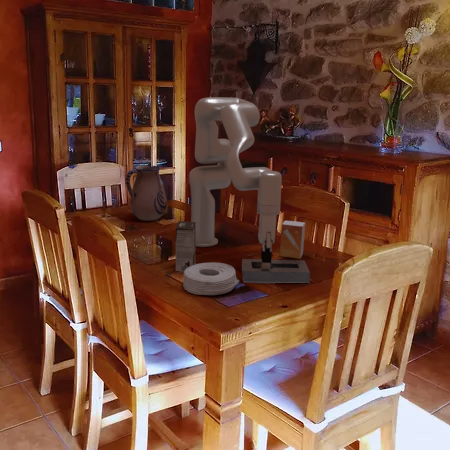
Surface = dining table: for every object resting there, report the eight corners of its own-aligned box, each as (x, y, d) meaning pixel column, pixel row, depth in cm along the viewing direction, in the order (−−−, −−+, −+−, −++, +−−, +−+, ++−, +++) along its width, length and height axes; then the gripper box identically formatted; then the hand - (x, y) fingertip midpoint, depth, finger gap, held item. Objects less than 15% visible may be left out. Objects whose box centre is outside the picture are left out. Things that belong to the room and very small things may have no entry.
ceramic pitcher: (174, 218, 255) (174, 166, 249) (145, 227, 238) (144, 172, 232) (146, 212, 264) (145, 162, 258) (116, 221, 247) (115, 168, 241)
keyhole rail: (243, 282, 176) (243, 270, 175) (241, 270, 187) (242, 259, 186) (309, 284, 176) (310, 272, 175) (303, 271, 188) (304, 260, 186)
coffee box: (178, 263, 192) (178, 220, 188) (195, 264, 192) (196, 221, 188) (175, 272, 184) (175, 227, 179) (193, 273, 183) (193, 228, 179)
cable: (241, 280, 178) (242, 263, 177) (229, 300, 162) (230, 282, 160) (191, 275, 182) (191, 258, 180) (175, 294, 166) (175, 276, 164)
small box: (279, 256, 203) (281, 223, 200) (282, 251, 209) (284, 220, 206) (300, 259, 201) (302, 226, 197) (303, 254, 207) (305, 222, 203)
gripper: (255, 202, 183) (253, 253, 188) (258, 214, 167) (256, 268, 172) (277, 203, 183) (274, 253, 188) (282, 214, 167) (279, 269, 172)
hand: (266, 260), depth 180 cm, fingers closed on peg, 2 cm apart
